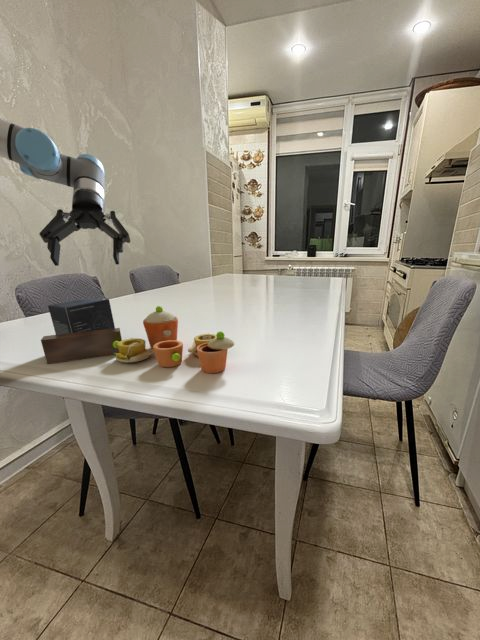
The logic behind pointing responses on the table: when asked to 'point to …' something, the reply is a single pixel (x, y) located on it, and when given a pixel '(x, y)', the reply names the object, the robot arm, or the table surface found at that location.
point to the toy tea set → (174, 344)
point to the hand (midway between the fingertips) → (86, 261)
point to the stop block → (80, 345)
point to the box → (81, 315)
